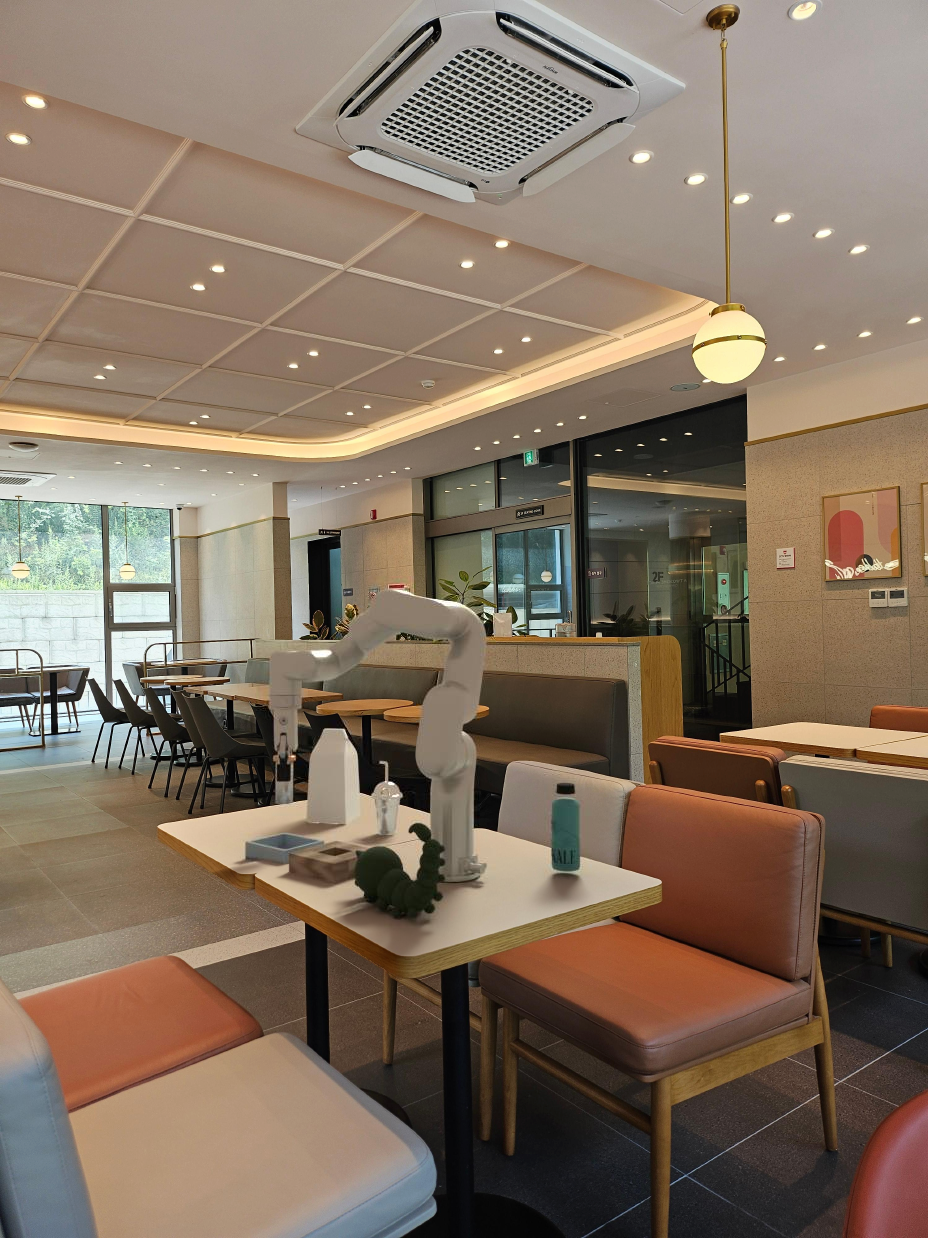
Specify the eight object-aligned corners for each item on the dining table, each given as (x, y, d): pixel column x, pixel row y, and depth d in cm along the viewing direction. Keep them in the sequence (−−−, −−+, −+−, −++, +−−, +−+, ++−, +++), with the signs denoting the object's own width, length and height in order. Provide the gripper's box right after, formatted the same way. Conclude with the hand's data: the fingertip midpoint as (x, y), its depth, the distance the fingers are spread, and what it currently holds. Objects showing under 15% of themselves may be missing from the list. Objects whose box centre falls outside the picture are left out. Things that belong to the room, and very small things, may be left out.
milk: (306, 822, 234) (306, 730, 234) (322, 814, 245) (322, 726, 246) (345, 825, 231) (346, 731, 232) (360, 816, 242) (360, 727, 243)
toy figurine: (453, 929, 152) (372, 887, 170) (459, 827, 151) (378, 796, 170) (413, 941, 146) (334, 896, 164) (419, 835, 145) (339, 802, 163)
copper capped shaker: (300, 802, 196) (300, 755, 196) (282, 805, 192) (283, 758, 192) (285, 799, 199) (285, 754, 200) (268, 803, 195) (268, 756, 195)
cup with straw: (409, 833, 220) (409, 758, 221) (382, 839, 214) (382, 761, 215) (389, 828, 226) (389, 755, 227) (362, 833, 220) (362, 758, 221)
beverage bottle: (571, 869, 185) (571, 780, 186) (586, 877, 179) (586, 784, 180) (545, 872, 183) (545, 781, 184) (559, 880, 177) (559, 786, 177)
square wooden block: (380, 874, 182) (380, 850, 182) (334, 889, 171) (334, 863, 171) (335, 863, 190) (335, 841, 191) (288, 877, 179) (288, 853, 179)
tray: (324, 857, 196) (324, 840, 196) (284, 869, 186) (284, 851, 186) (284, 848, 204) (284, 832, 204) (245, 859, 195) (245, 842, 195)
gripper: (299, 705, 188) (298, 785, 188) (303, 699, 205) (302, 773, 205) (265, 705, 187) (264, 786, 187) (272, 699, 204) (271, 774, 204)
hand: (284, 778), depth 196 cm, fingers closed on copper capped shaker, 4 cm apart
